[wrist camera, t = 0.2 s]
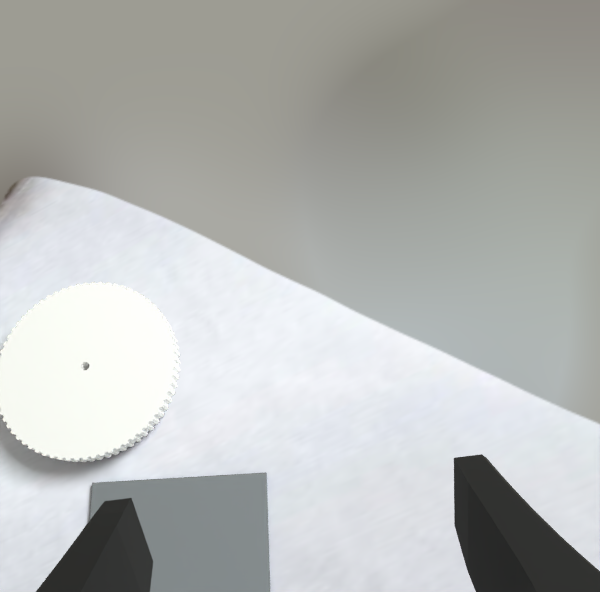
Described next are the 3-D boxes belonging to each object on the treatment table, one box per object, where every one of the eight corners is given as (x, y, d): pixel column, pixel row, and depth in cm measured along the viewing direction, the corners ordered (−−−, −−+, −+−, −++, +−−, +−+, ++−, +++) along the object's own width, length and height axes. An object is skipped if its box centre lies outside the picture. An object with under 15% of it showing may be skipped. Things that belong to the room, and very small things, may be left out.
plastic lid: (-19, 435, 45) (-38, 431, 43) (54, 276, 50) (40, 264, 47) (146, 485, 43) (136, 483, 41) (206, 315, 48) (200, 305, 46)
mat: (271, 641, 39) (271, 642, 39) (81, 652, 39) (80, 653, 39) (266, 473, 43) (266, 472, 43) (94, 483, 43) (92, 482, 43)
